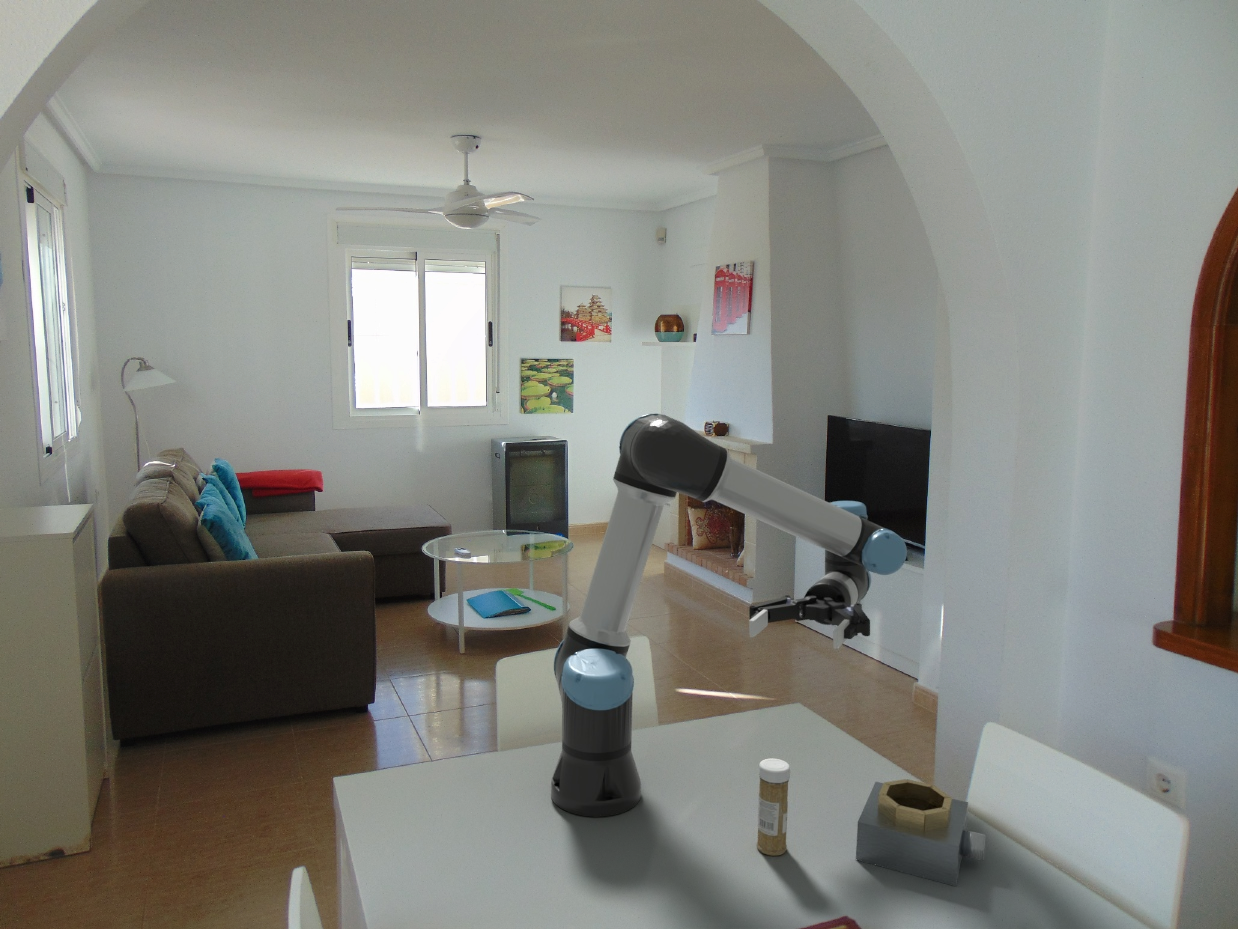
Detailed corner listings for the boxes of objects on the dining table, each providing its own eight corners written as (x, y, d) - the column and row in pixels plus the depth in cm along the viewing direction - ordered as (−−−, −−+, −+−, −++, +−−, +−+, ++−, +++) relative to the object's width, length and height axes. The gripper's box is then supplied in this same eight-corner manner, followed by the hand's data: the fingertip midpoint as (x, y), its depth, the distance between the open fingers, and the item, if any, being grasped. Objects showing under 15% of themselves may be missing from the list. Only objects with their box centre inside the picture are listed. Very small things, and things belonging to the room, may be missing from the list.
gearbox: (855, 859, 131) (858, 805, 130) (873, 816, 144) (876, 766, 143) (978, 892, 124) (983, 835, 123) (986, 843, 136) (990, 791, 135)
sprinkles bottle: (792, 851, 133) (796, 766, 132) (770, 860, 131) (774, 774, 129) (771, 837, 137) (775, 754, 135) (749, 845, 135) (752, 761, 133)
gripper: (902, 628, 152) (873, 669, 133) (764, 611, 164) (719, 646, 145) (903, 585, 151) (873, 620, 132) (763, 571, 163) (718, 602, 144)
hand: (792, 634), depth 139 cm, fingers open, 13 cm apart
